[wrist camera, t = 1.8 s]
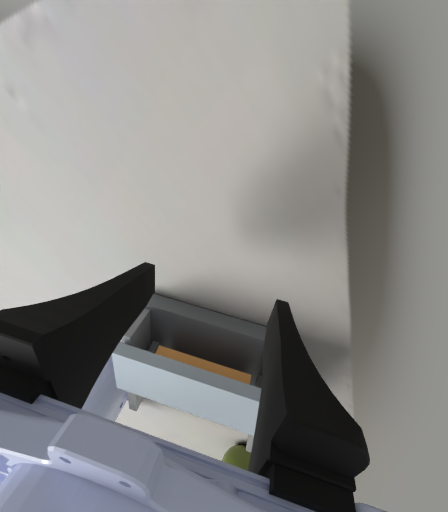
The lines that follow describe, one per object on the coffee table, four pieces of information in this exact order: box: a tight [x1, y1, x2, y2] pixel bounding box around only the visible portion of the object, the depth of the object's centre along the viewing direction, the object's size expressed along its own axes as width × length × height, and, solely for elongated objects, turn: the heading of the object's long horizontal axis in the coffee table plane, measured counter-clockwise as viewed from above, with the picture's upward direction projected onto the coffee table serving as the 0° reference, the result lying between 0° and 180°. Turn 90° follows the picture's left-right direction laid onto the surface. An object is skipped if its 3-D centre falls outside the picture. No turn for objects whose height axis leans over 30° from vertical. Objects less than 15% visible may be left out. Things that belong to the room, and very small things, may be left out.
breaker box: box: [121, 294, 267, 452], centre depth 24 cm, size 12×14×5 cm
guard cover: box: [112, 342, 261, 436], centre depth 19 cm, size 5×13×1 cm, turn 81°
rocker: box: [155, 345, 251, 385], centre depth 22 cm, size 7×10×1 cm
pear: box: [222, 445, 251, 471], centre depth 30 cm, size 6×5×10 cm
